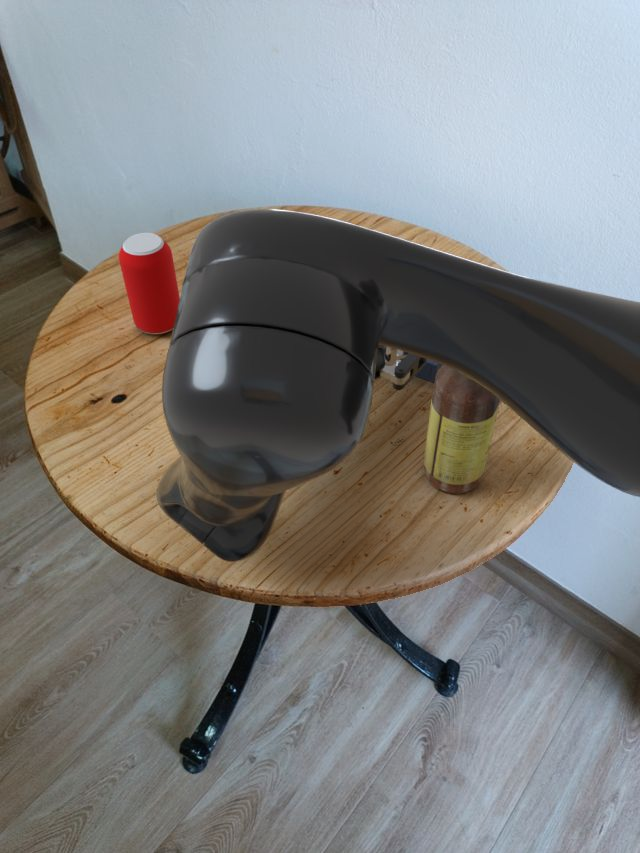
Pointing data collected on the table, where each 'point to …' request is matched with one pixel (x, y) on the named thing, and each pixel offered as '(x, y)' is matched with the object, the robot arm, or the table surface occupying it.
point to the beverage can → (150, 282)
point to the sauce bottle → (458, 431)
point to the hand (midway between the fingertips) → (389, 309)
